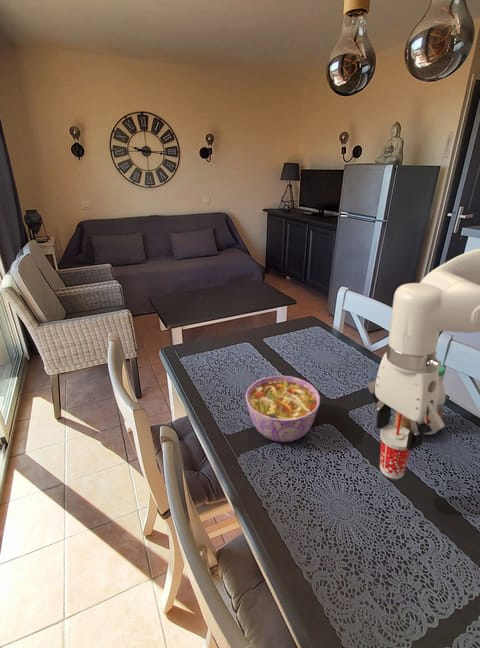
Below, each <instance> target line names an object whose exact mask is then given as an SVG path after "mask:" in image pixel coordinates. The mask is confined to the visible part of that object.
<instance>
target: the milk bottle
mask: <svg viewBox="0 0 480 648" xmlns="http://www.w3.org/2000/svg"><path fill="white" fill-rule="evenodd" d="M445 372H446V368H445V367H444V365H442V364H441V366H440V368H438V375H439V392H438V402H437V408H436V411H437V413H438V414H439V416H440V418H441V419H442V415H443V411H444V407H445V402H446V389H445V386H444V383H443V382H444V381H443V378H444V377H445V374H446V373H445ZM425 416H426V421H427V423H429V422H431V421H430V420H429V418H428V416H427V414H425ZM418 425H420V424H419V422H418ZM438 431H439V430H437V431H431V432H428V433H423V435H427V436H428V435H429V436H430V435H434V434H437V433H438Z"/></svg>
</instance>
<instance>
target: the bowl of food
mask: <svg viewBox="0 0 480 648" xmlns="http://www.w3.org/2000/svg"><path fill="white" fill-rule="evenodd" d="M244 397H245V402H246V407H247V409H248V412H249V416H250V419H251V421H252V423H253V426H254V427H255V429H256V430H257V431H258V433H260V434H261V435H262V436H263V437H265V438H266V439H269V440H271V441H274V442H278V443H279V442H281V443H288V442H289V443H290V442H293V441H296V440H298V439H301V438H302V437H303V436H305V435H306V434H307V433H308V432H309V430H310V429H311V427H312V425H313V423H314V420H315V418H316V416H317V412H318V411H319V407H320V404H321V396H320V394H319V391H318V389H317V388H315V386H313V385H312V384H311V383H309V382H308V381H306V380H304V379H301V378H298V377H296V376H292V375H282V374H281V375H270V376H266V377H262V378H260V379H258V380H256V381H254V382H253V383H252V384H251V385H250V386H249V387H248V388H247V390H246V392H245V395H244Z"/></svg>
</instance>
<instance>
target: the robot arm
mask: <svg viewBox="0 0 480 648" xmlns="http://www.w3.org/2000/svg"><path fill="white" fill-rule="evenodd" d="M392 300H393V301H392V309H391V316H390V323H389V332H388V340H387V346H386V352H384V354H383V356H382V358H381V361H380V364H379V366H378V370H377V374H376V379H375V380H372V381H370V382H368V383H367V384H366V387H367V389H368V391H369V393H370V394H371V398H372V400H373V403H374V404H375V405H374V408H375V410H376V412H377V413H376V425H375V427H376V429H378V430H381V429H382V428H383V427H384V426H387V425H390V421H391V415H392V409H393V410H395V412H396V411H398V412H399V413H401V414H402V415H404V416H406V417H407V418H409V419H410V423H411V428H412V430H411V431H410V432H409V434H408V440H407V446H406V447H407V449H408V450H410V451H412V450H413V449H415V448H419V447H420V446H421V445H422V443H423V438H424V434H423V433H428V432H431V431H437V430H438V431H440V430H442V429H444V428H445V426H446V425H445V423H444V421H443V420H442V417H441V418H440V416H439V414H438V413H437V411H436V408H437V402H438V392H439V375H438V368H440V366H441V365H442V361H441V360H439V359H438V358H437V349H438V348H437V347H438V344H439V343H438V342H439V336H440V333H441V332H451V333H464V334H472V333H473V334H475V333H480V248H477V249H476V248H475V249H472V250H470V251H467V252H464V253H461V254H459V255H457V256H455V257H453V258H452V259H450V260H447V261H446V262H444V263H442V264H441V265H439V266H437V267H436V268H434V269H432V270H431V271H430V272H429V273H427V274H426V275H425V276H424V277H423V278H422V279H421V281H420V282H410V283H404V284H401V285H400V286H398V287H397V288H396V290H395V292H394V293H393V299H392ZM425 414H427V416H428V418H429V420H430V421H431V422H429V423H427V421H426V416H425ZM418 422H419V424H420V425H418ZM438 431H437V432H438Z"/></svg>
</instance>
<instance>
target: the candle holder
mask: <svg viewBox="0 0 480 648" xmlns="http://www.w3.org/2000/svg"><path fill="white" fill-rule="evenodd" d="M399 414H401V413H399V412H398V411H396V410H395V417H394V422H393V425H398V419H399ZM400 426H402V427H404V428H406V429H408V430H409V431H411V430H412V428H411V423H410V419H409V418H407V417H406V416H404V415H402V417H401V424H400Z"/></svg>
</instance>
